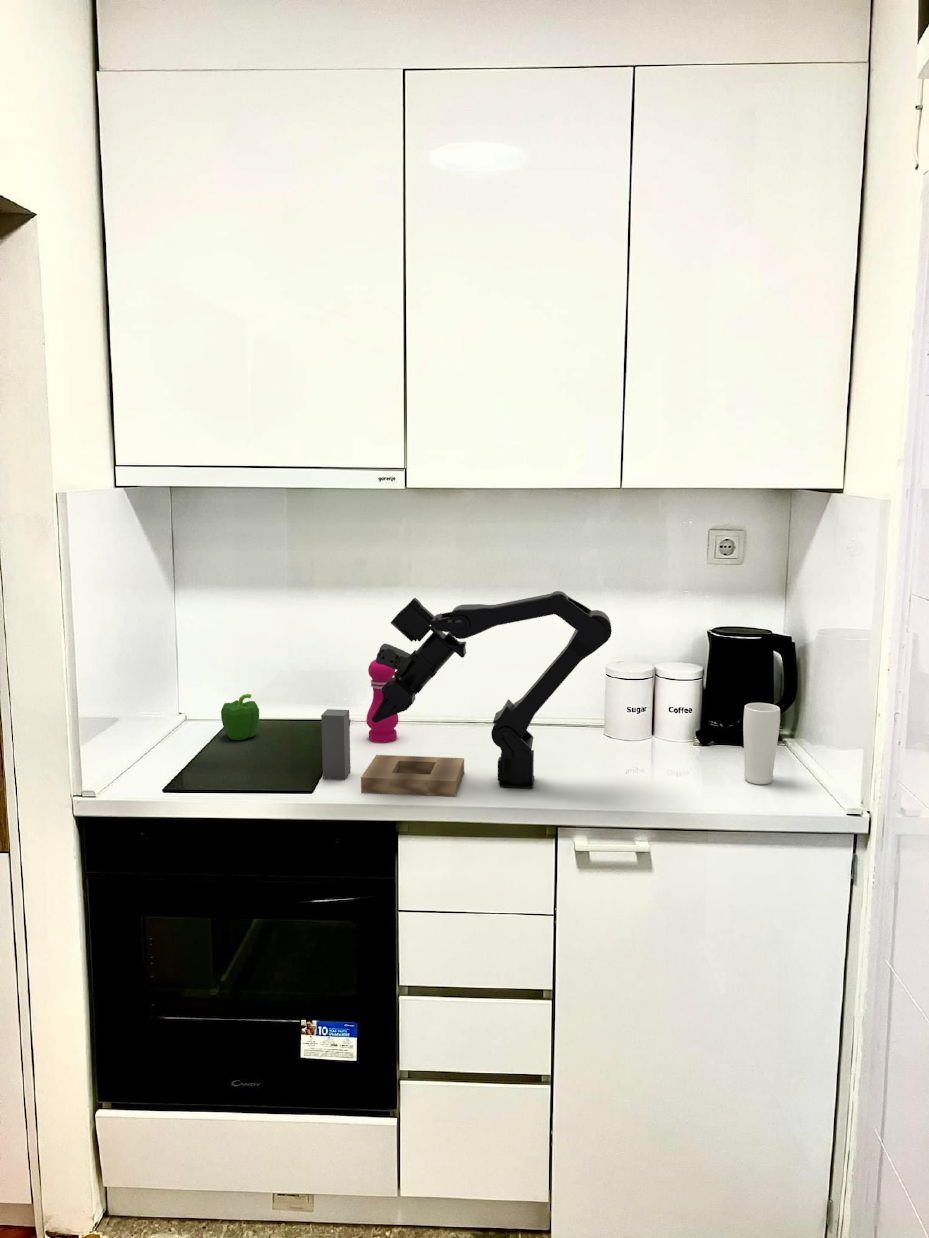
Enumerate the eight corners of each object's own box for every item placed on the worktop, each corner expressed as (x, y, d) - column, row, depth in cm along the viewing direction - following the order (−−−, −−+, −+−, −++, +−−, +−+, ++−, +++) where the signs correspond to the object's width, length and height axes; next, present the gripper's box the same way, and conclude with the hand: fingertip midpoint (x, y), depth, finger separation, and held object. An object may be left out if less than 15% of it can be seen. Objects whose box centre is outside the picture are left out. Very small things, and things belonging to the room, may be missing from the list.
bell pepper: (216, 742, 215) (214, 698, 213) (230, 731, 223) (228, 689, 222) (252, 743, 214) (250, 699, 212) (265, 733, 222) (263, 690, 220)
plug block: (350, 772, 195) (349, 709, 193) (345, 779, 190) (343, 715, 188) (328, 771, 195) (327, 709, 193) (322, 778, 191) (321, 715, 189)
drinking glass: (761, 773, 194) (765, 701, 192) (783, 784, 188) (788, 709, 186) (733, 777, 192) (736, 704, 189) (754, 788, 186) (758, 712, 183)
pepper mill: (397, 743, 214) (396, 655, 211) (364, 743, 214) (363, 655, 211) (399, 734, 221) (399, 648, 218) (368, 734, 221) (367, 648, 218)
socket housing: (464, 772, 195) (464, 758, 194) (455, 796, 181) (455, 781, 181) (376, 768, 197) (376, 754, 196) (361, 792, 183) (360, 777, 183)
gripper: (407, 621, 195) (358, 676, 199) (389, 639, 177) (335, 699, 180) (448, 658, 196) (398, 712, 199) (434, 679, 177) (380, 739, 181)
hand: (378, 714), depth 190 cm, fingers open, 9 cm apart
